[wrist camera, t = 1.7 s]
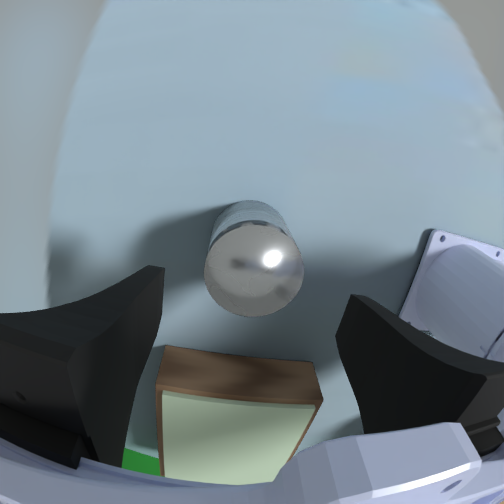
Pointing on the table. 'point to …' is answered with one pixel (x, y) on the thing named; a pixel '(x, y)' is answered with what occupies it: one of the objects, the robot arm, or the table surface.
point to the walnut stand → (231, 415)
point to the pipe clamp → (140, 463)
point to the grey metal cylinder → (252, 260)
